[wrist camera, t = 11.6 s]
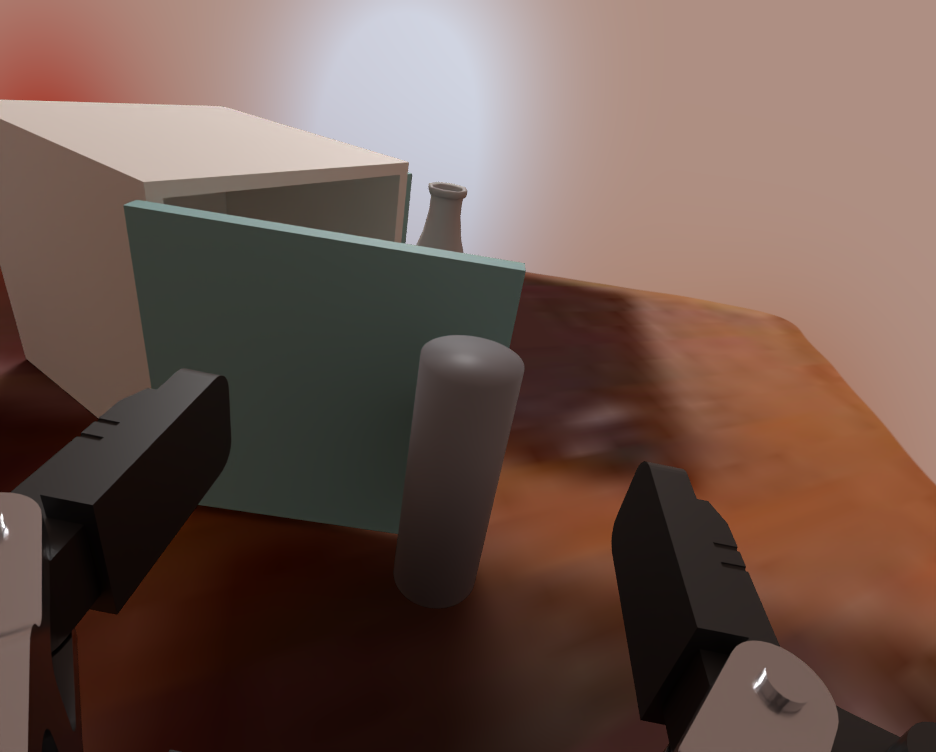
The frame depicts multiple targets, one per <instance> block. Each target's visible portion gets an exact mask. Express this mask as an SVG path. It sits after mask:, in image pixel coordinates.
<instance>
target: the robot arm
mask: <svg viewBox="0 0 936 752" xmlns="http://www.w3.org/2000/svg"><path fill="white" fill-rule="evenodd" d="M230 449H231V421H230V401H229V385H228V381H227V379H226V377H225V376H222V375H217V374H212V373H207V372H202V371H197V370H192V369H187V368H182V369H180V370H178V371H177V372H176V373H175V374H173V375H172V376H171V377H170V378H169V379H168V380H167V381H166V382H165V383H163V384H162V385H161V386H160V387H159V388H158V389H157V390H156V389H151V388H147V389H144V390H142V391H140V392H138V393H135V394H133V395H131V396H129V397H126V398H124V399H122V400H119V401H118V402H117V403H116V404H115V405H113V406H112V407H111V408H110V409H109V410H108V411H106V412H105V413H104V414H103V415H102V416H100V417H99V420H98V422H93V423H92V424H91V425H90V426H89V427H87V428H86V429H85V430H84V431H83V432H81V436H80V437H75V438H74V439H73V440H72V441H71V442H70V443H68V444H67V445H66V446H65V447H64V448H62V449H61V450H60V451H59V452H58V453H57V454H55V455H54V456H53V457H52V458H51V459H49V460H48V461H47V462H46V463H45V464H43V465H42V466H41V467H40V468H39V469H38V470H36V471H35V472H34V473H33V474H32V475H30V476H29V477H28V478H27V479H26V480H25V481H23V482H22V483H21V484H20V485H19V486H17V487H16V488H15V489H14V490H13V491H11V492H10V493H5V492H0V752H83V742H82V724H81V704H80V685H79V665H78V645H77V634H76V629H75V626H76V625H77V624H78V623H79V621H80V620H81V619H82V618H83V616H84V615H85V614H86V612H87V611H88V610H89V609H91V610H96V611H101V612H107V613H112V614H118V613H119V611H120V610H121V609H122V607H123V606H124V605H125V603H126V602H127V600H128V599H129V598H130V596H131V595H132V594H133V592H134V591H135V590H136V588H137V587H138V585H139V584H140V583H141V581H142V580H143V579H144V577H145V576H146V575H147V573H148V572H149V571H150V569H151V568H152V566H153V565H154V564H155V562H156V561H157V560H158V558H159V557H160V556H161V554H162V553H163V552H164V550H165V549H166V547H167V546H168V545H169V543H170V542H171V541H172V539H173V538H174V537H175V535H176V534H177V532H178V531H179V530H180V528H181V527H182V526H183V524H184V523H185V522H186V520H187V519H188V518H189V516H190V515H191V513H192V512H193V511H194V509H195V508H196V507H197V505H198V504H199V503H200V501H201V500H202V498H203V497H204V496H205V494H206V493H207V492H208V490H209V489H210V488H211V486H212V485H213V484H214V482H215V481H216V479H217V478H218V477H219V475H220V474H221V473H222V471H223V469H224V467H225V465H226V463H227V460H228V457H229V454H230ZM612 555H613V561H614V566H615V572H616V578H617V584H618V590H619V596H620V602H621V608H622V614H623V619H624V625H625V631H626V637H627V643H628V649H629V655H630V661H631V667H632V672H633V678H634V684H635V690H636V696H637V702H638V708H639V714H640V720H643V721H648V722H653V723H658V724H663V725H666V729H667V734H668V739H669V744H668V746H667V747H666V748H665V750H664V751H663V752H936V723H934V722H921V723H917V724H915V725H914V726H912V727H911V728H910V729H909V730H908V731H907V732H906V733H905V734H904V735H902V736H901V737H898V736H896V735H894V734H892V733H890V732H888V731H886V730H884V729H882V728H880V727H878V726H876V725H874V724H872V723H870V722H868V721H866V720H863V719H861V718H859V717H857V716H855V715H853V714H851V713H849V712H847V711H845V710H843V709H841V708H839V707H838V706H836V705H835V703H834V700H833V698H832V696H831V694H830V692H829V691H828V689H827V687H826V686H825V685H824V683H823V682H822V681H821V679H820V678H819V677H818V676H817V675H816V674H815V672H814V671H813V670H812V669H811V668H810V667H808V666H807V665H806V664H805V663H804V662H803V661H801V660H800V659H799V658H798V657H796V656H795V655H793V654H792V653H790V652H788V651H787V650H785V649H783V648H781V647H780V645H779V643H778V641H777V638H776V636H775V634H774V631H773V629H772V627H771V624H770V622H769V620H768V617H767V615H766V613H765V610H764V608H763V606H762V603H761V601H760V599H759V596H758V594H757V592H756V589H755V587H754V585H753V582H752V580H751V578H750V575H749V573H748V572H746V571H745V568H746V566H745V563H744V561H743V559H742V556H741V554H740V552H738V551H737V545H736V542H735V540H734V538H733V535H732V533H731V531H730V528H729V526H728V524H727V522H726V521H725V520H724V519H723V518H722V517H721V516H720V514H719V513H718V512H717V511H716V510H715V509H714V508H713V506H712V505H711V504H710V503H709V502H708V501H704V500H699V499H696V496H695V493H694V491H693V488H692V485H691V483H690V480H689V478H688V475H687V473H686V471H685V470H683V469H680V468H675V467H670V466H665V465H660V464H655V463H650V462H645V461H644V462H642V463H641V464H640V465H639V467H638V468H637V470H636V473H635V475H634V477H633V480H632V482H631V484H630V487H629V489H628V491H627V494H626V496H625V498H624V501H623V503H622V505H621V508H620V510H619V512H618V515H617V517H616V520H615V523H614V527H613V532H612ZM169 752H180V751H175V750H169Z"/></svg>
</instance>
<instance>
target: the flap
mask: <svg viewBox="0 0 936 752" xmlns="http://www.w3.org/2000/svg"><path fill="white" fill-rule="evenodd" d="M123 207H124V214H125V220H126V227H127V233H128V240H129V246H130V253H131V259H132V266H133V272H134V279H135V285H136V292H137V298H138V305H139V311H140V317H141V324H142V330H143V337H144V343H145V350H146V356H147V363H148V369H149V376H150V382H151V389H156V390H157V389H158V388H159V387H160V386H161V385H162V384H163V383H165V382H166V381H167V380H168V379H169V378H170V377H171V376H172V375H173V374H175V373H176V372H177V371H178V370H180V369H182V368H187V369H192V370H197V371H202V372H207V373H212V374H217V375H222V376H225V377H226V379H227V381H228V385H229V401H230V421H231V449H230V454H229V457H228V460H227V463H226V465H225V467H224V469H223V471H222V473H221V474H220V475H219V477H218V478H217V479H216V481H215V482H214V484H213V485H212V486H211V488H210V489H209V490H208V492H207V493H206V494H205V496H204V497H203V498H202V500H201V501H200V503H199V504H198V505H203V506H210V507H217V508H224V509H230V510H237V511H244V512H251V513H258V514H265V515H272V516H278V517H285V518H292V519H299V520H306V521H313V522H319V523H326V524H333V525H340V526H347V527H354V528H361V529H367V530H374V531H381V532H388V533H395V534H398V539H397V547H396V555H395V563H394V571H393V573H394V580H395V583H396V585H397V587H398V589H399V590H400V592H401V593H402V594H403V595H404V596H405V597H406V598H407V599H409V600H410V601H412V602H414V603H416V604H418V605H420V606H423V607H428V608H447V607H451V606H454V605H456V604H458V603H460V602H462V601H463V600H464V599H465V598H466V597H467V596H468V595H469V594H470V593H471V591H472V589H473V586H474V583H475V579H476V575H477V570H478V566H479V562H480V557H481V553H482V549H483V545H484V540H485V536H486V532H487V527H488V523H489V519H490V515H491V510H492V506H493V502H494V497H495V493H496V489H497V485H498V480H499V476H500V472H501V467H502V463H503V459H504V455H505V450H506V446H507V442H508V437H509V433H510V429H511V425H512V420H513V416H514V412H515V408H516V403H517V399H518V395H519V390H520V386H521V382H522V378H523V373H524V364H523V362H522V360H521V358H520V357H519V356H518V355H517V354H516V353H515V352H514V351H512V350H511V349H509V346H510V342H511V337H512V332H513V328H514V323H515V318H516V314H517V309H518V304H519V300H520V295H521V290H522V285H523V281H524V276H525V271H526V270H525V263H520V262H513V261H508V260H502V259H496V258H490V257H483V256H477V255H471V254H465V253H459V252H453V251H447V250H441V249H435V248H429V247H423V246H416V245H410V244H404V243H398V242H392V241H386V240H380V239H374V238H368V237H362V236H355V235H349V234H343V233H337V232H331V231H325V230H319V229H313V228H307V227H301V226H294V225H288V224H282V223H276V222H270V221H264V220H258V219H252V218H246V217H240V216H233V215H227V214H221V213H215V212H209V211H203V210H197V209H191V208H185V207H179V206H172V205H166V204H160V203H154V202H148V201H142V200H135V201H132V202H130V203H127V204H125V205H123Z"/></svg>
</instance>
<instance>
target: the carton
mask: <svg viewBox="0 0 936 752" xmlns="http://www.w3.org/2000/svg"><path fill="white" fill-rule="evenodd" d="M408 165H409V163H408V162H406V161H403V160H399V159H396V158H393V157H389V156H386V155H383V154H379V153H376V152H373V151H369V150H366V149H363V148H359V147H356V146H353V145H350V144H346V143H343V142H340V141H336V140H333V139H329V138H326V137H323V136H320V135H316V134H313V133H310V132H306V131H303V130H300V129H296V128H293V127H290V126H286V125H283V124H280V123H276V122H273V121H270V120H267V119H263V118H260V117H257V116H253V115H250V114H246V113H243V112H240V111H237V110H233V109H230V108H227V107H223V106H194V105H192V106H191V105H160V104H126V103H125V104H124V103H92V102H59V101H25V100H0V266H1V269H2V273H3V277H4V280H5V284H6V287H7V291H8V295H9V298H10V302H11V306H12V309H13V313H14V316H15V320H16V324H17V327H18V331H19V334H20V338H21V342H22V345H23V349H24V352H25V356H26V359H27V360H28V361H30V362H31V363H32V364H33V365H34V366H36V367H37V368H38V369H39V370H40V371H42V372H43V373H44V374H45V375H47V376H48V377H49V378H50V379H51V380H53V381H54V382H55V383H56V384H57V385H59V386H60V387H61V388H62V389H63V390H65V391H66V392H67V393H68V394H70V395H71V396H72V397H73V398H74V399H76V400H77V401H78V402H79V403H80V404H82V405H83V406H84V407H85V408H86V409H88V410H89V411H90V412H91V413H93V414H94V415H95V416H96V417H97V418H99V417H100V416H102V415H103V414H104V413H105V412H106V411H108V410H109V409H110V408H111V407H112V406H113V405H115V404H116V403H117V402H118V401H119V400H122V399H124V398H126V397H129V396H131V395H133V394H135V393H138V392H140V391H142V390H144V389H147V388H151V382H150V376H149V369H148V363H147V356H146V350H145V343H144V337H143V330H142V324H141V317H140V311H139V305H138V298H137V292H136V285H135V279H134V272H133V266H132V259H131V253H130V246H129V240H128V233H127V227H126V220H125V214H124V207H123V205H125V204H127V203H130V202H132V201H135V200H142V201H148V202H154V203H160V204H166V205H172V206H179V207H185V208H191V209H197V210H203V211H209V212H215V213H221V214H227V215H233V216H240V217H246V218H252V219H258V220H264V221H270V222H276V223H282V224H288V225H294V226H301V227H307V228H313V229H319V230H325V231H331V232H337V233H343V234H349V235H355V236H362V237H368V238H374V239H380V240H386V241H392V242H398V243H404V244H405V242H406V232H407V222H408V211H409V201H410V191H411V180H412V174H411V173H408Z"/></svg>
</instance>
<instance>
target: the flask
mask: <svg viewBox="0 0 936 752" xmlns="http://www.w3.org/2000/svg"><path fill="white" fill-rule="evenodd" d="M429 192H430V194H431V200H430V208H429V212H428V216H427V219H426V223H425V226H424V229H423V232H422V234H421V236H420V238H419V240H418V243H417V245H416V246H423V247H429V248H435V249H441V250H447V251H453V252H459V253H463V248H462V243H461V222H460V215H461V206H462V201H463V198H465V197H466V195H467V190H466V188H465V187H462V186H458V185H455V184H450V183H443V182H434V183H429Z"/></svg>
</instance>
